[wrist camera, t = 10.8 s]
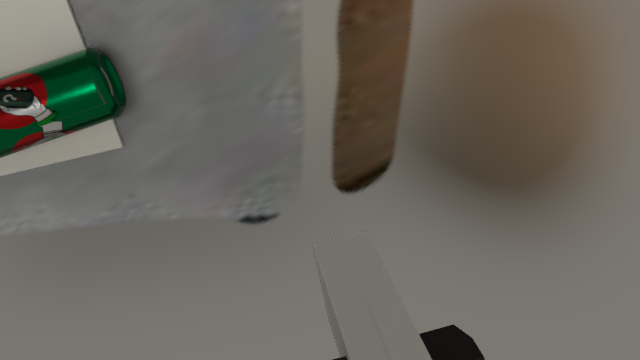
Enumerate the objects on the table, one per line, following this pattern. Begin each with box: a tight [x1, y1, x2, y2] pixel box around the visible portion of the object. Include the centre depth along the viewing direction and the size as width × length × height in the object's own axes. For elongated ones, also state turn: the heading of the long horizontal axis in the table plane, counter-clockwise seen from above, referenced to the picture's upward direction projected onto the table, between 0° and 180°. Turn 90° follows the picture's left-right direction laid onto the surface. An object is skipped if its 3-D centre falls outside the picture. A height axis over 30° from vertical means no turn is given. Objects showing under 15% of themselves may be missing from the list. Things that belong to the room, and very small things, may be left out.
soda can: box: [0, 48, 126, 158], centre depth 38 cm, size 5×5×12 cm
